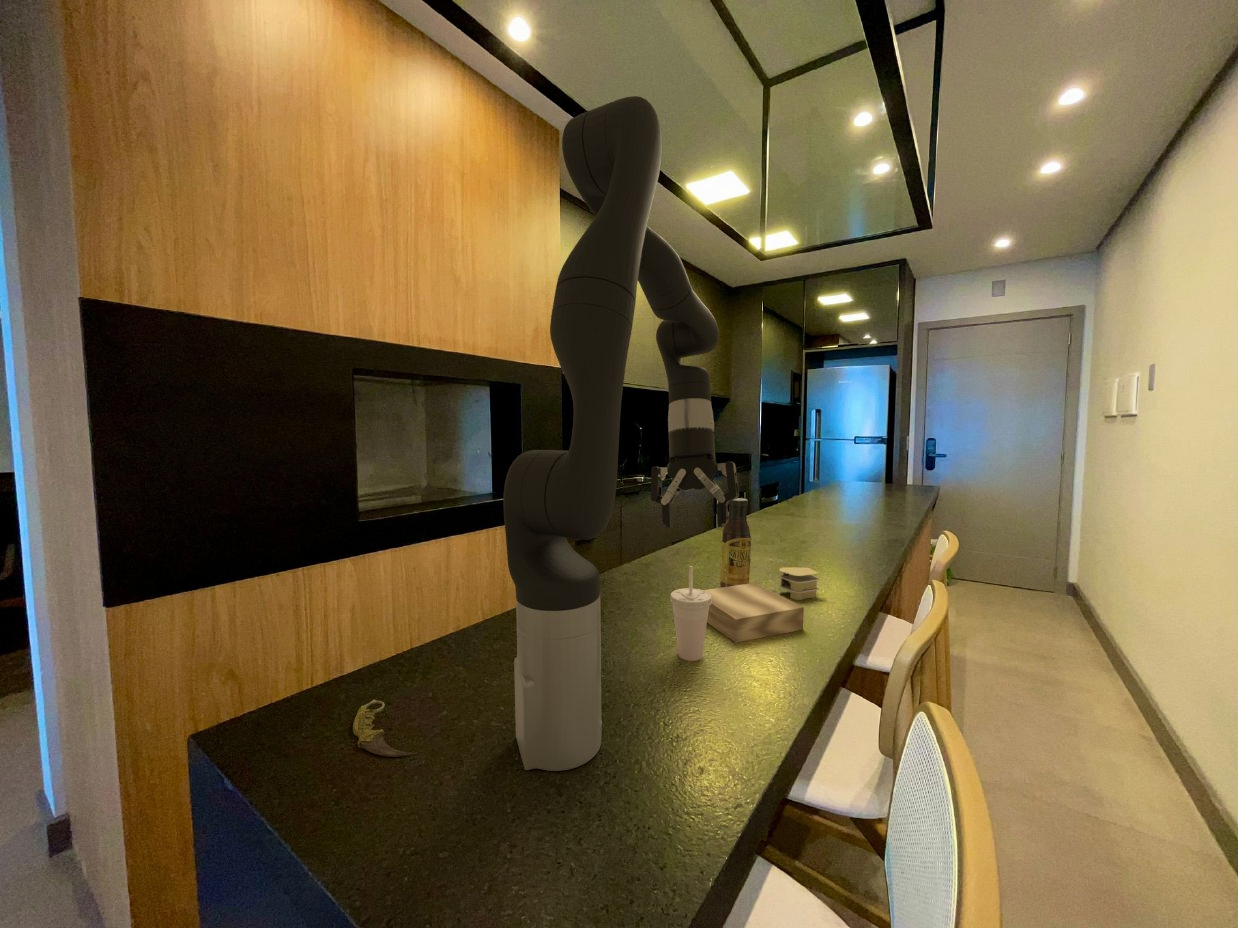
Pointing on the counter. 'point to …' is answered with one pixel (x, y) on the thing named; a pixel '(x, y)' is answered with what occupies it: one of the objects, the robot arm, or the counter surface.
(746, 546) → the sauce bottle
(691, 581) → the smoothie
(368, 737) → the knife
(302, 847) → the counter surface
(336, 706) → the counter surface
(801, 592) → the stacked layers on plate
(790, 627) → the riser
